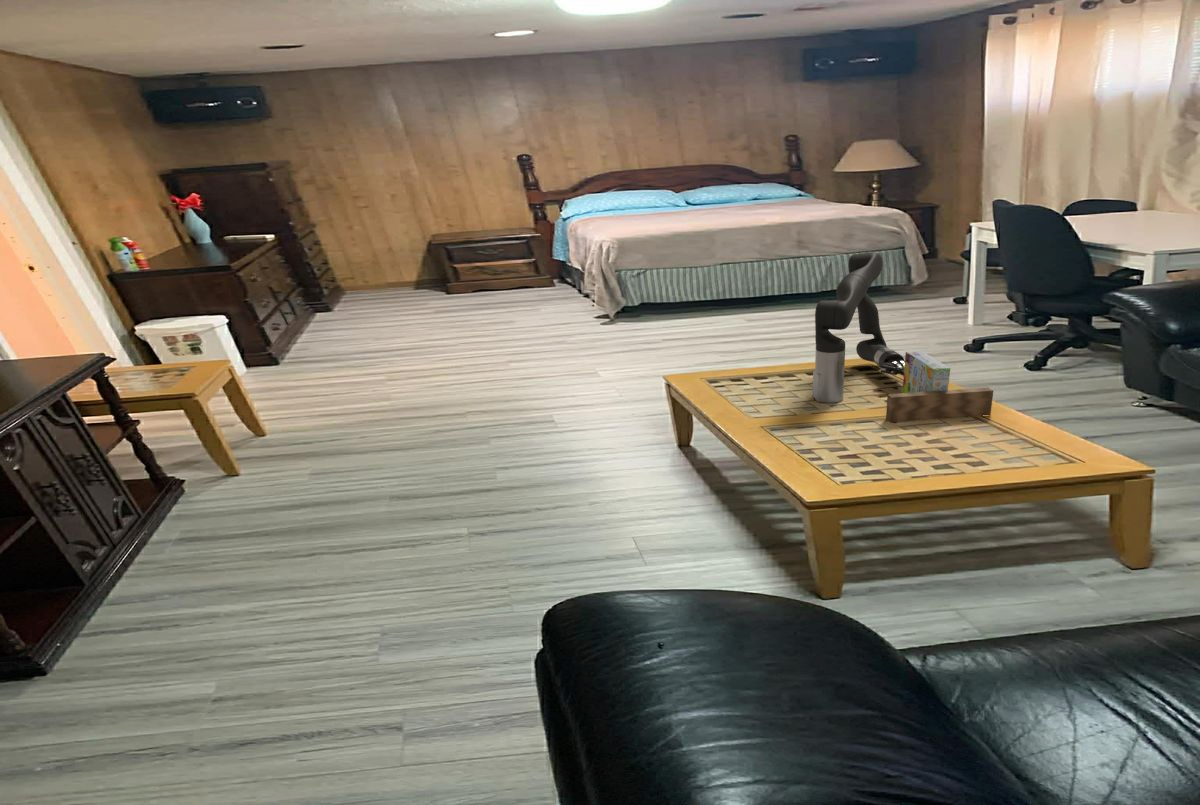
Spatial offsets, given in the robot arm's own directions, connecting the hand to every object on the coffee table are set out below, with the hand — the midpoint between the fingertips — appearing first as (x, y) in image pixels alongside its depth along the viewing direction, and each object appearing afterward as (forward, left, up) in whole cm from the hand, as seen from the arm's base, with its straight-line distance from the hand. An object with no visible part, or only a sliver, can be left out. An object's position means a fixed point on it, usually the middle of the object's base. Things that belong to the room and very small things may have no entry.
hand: (909, 374), depth 227 cm
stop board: (0, -23, -6) cm, 24 cm away
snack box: (0, -11, -7) cm, 13 cm away
